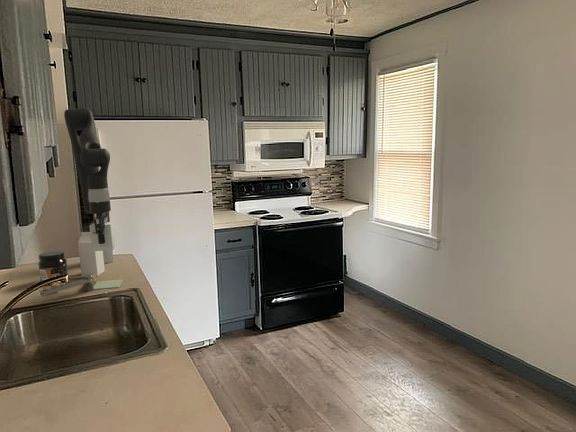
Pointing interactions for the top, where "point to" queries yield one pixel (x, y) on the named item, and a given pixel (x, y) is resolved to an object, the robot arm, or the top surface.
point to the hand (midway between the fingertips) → (103, 241)
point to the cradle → (72, 279)
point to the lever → (65, 286)
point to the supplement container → (52, 264)
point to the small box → (108, 234)
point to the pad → (107, 284)
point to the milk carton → (89, 257)
